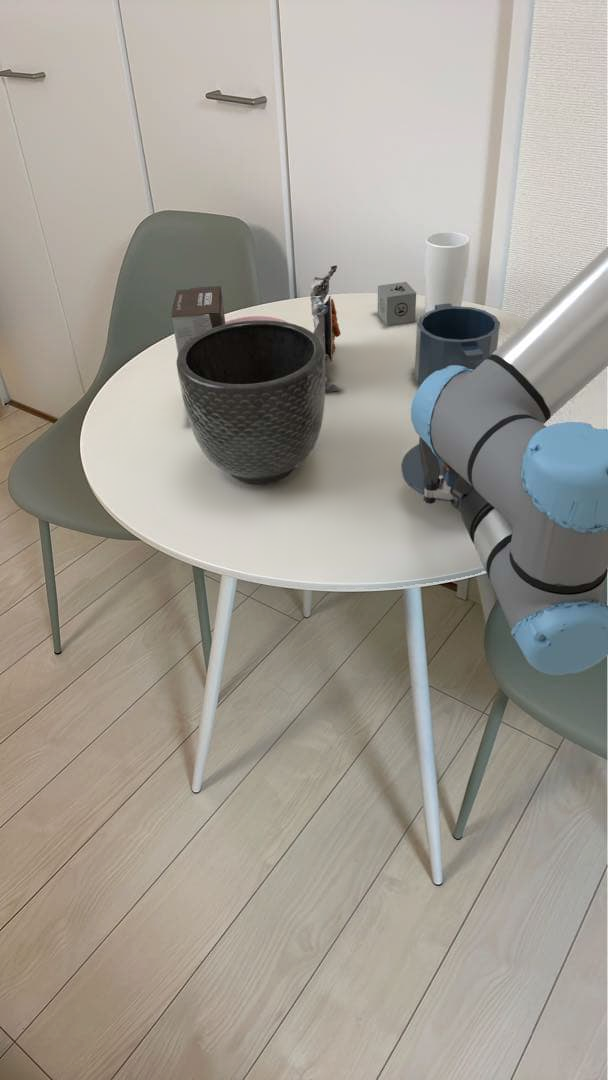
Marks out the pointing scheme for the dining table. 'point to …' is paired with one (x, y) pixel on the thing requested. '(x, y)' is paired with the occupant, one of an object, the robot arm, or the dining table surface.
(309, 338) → the planter
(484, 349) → the pot
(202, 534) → the dining table surface
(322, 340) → the meal
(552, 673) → the robot arm
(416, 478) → the lid
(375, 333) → the dining table surface
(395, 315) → the dice cube
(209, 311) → the coffee box
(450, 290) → the drinking glass
